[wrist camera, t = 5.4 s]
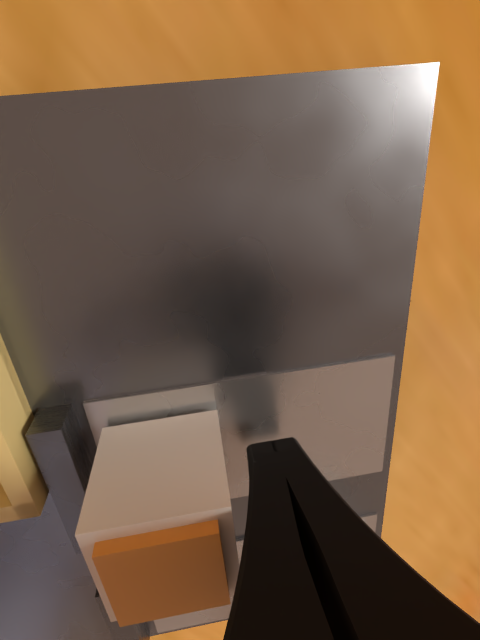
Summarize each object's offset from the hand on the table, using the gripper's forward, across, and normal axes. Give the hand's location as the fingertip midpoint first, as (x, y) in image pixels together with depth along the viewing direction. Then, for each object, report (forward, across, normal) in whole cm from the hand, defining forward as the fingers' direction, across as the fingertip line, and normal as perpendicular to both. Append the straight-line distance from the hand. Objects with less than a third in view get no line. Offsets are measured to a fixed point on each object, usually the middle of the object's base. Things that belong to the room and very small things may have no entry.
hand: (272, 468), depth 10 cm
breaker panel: (+3, +7, 0) cm, 7 cm away
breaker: (+1, +3, 0) cm, 3 cm away
